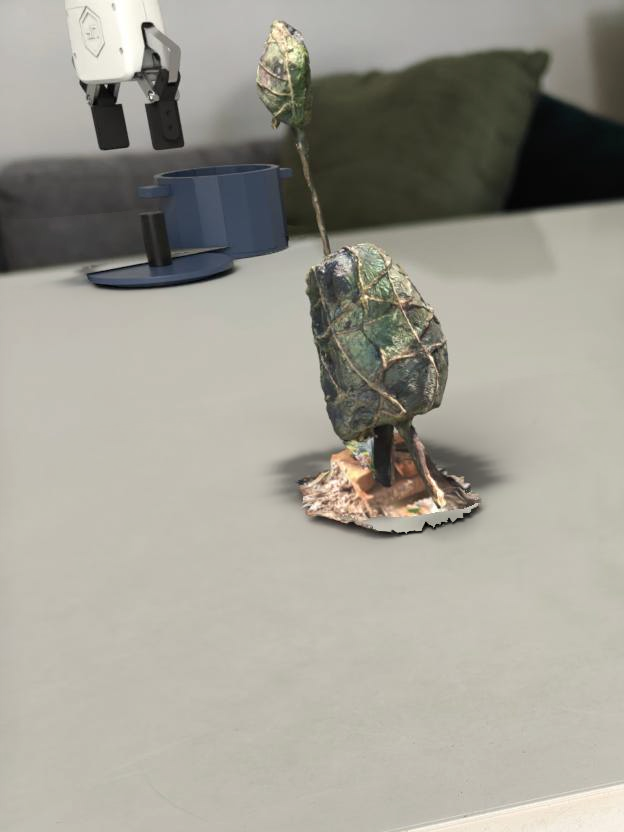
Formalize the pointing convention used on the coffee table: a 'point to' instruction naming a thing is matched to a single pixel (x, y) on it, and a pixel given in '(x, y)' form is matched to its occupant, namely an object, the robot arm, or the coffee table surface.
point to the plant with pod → (364, 345)
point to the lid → (162, 261)
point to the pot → (224, 208)
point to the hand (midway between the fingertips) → (141, 148)
